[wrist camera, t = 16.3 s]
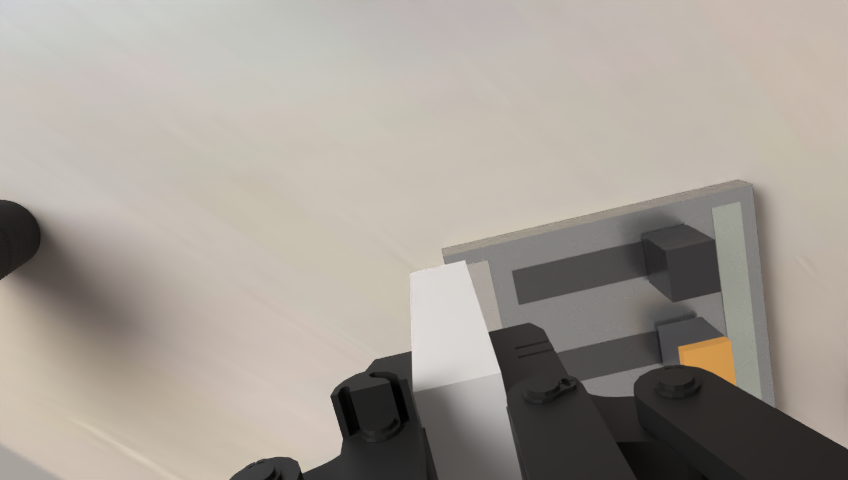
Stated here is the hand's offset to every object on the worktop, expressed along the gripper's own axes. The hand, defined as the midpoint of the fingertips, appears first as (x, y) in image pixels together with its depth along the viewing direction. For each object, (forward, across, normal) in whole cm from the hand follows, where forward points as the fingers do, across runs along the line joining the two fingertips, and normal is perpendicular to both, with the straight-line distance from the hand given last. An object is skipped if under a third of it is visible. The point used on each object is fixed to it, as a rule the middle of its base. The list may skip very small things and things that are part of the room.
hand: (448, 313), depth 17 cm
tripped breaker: (+27, +16, -17) cm, 36 cm away
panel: (+29, +11, -17) cm, 36 cm away
